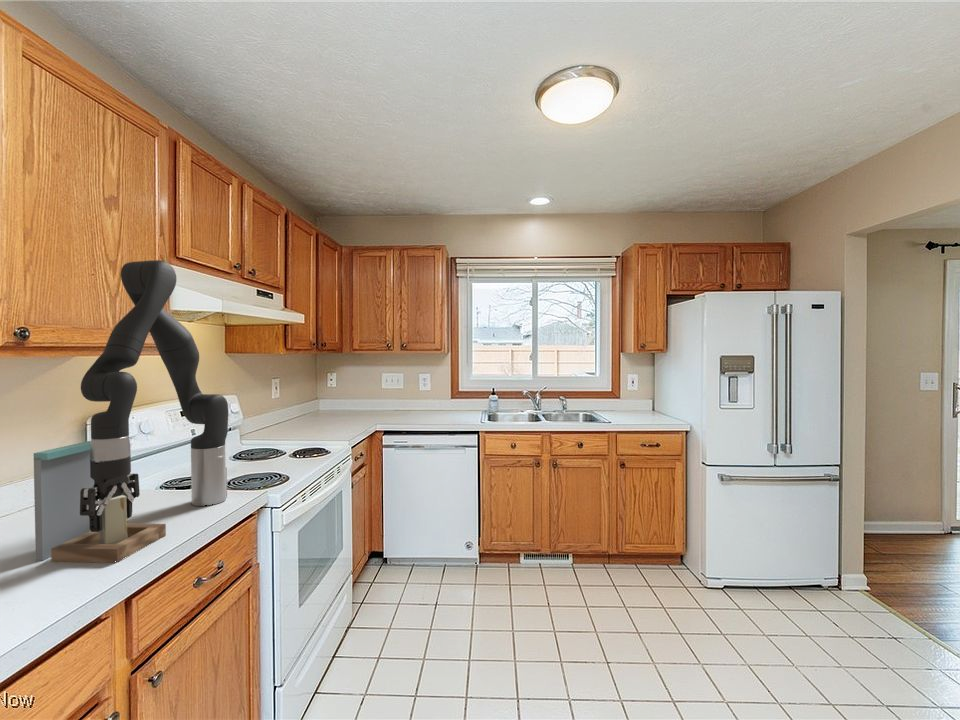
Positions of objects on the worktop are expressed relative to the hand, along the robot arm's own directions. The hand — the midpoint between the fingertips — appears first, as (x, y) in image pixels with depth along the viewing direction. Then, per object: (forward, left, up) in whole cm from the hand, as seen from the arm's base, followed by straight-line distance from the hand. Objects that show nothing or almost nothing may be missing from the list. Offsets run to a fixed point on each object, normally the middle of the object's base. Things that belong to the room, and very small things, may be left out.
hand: (112, 524), depth 110 cm
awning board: (0, -11, -6) cm, 12 cm away
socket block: (0, 0, -6) cm, 6 cm away
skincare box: (0, 0, -6) cm, 6 cm away
